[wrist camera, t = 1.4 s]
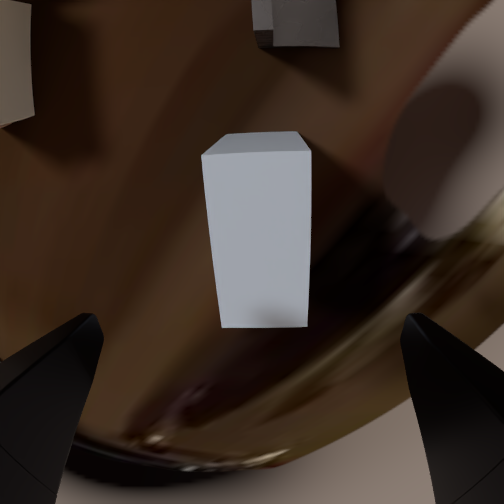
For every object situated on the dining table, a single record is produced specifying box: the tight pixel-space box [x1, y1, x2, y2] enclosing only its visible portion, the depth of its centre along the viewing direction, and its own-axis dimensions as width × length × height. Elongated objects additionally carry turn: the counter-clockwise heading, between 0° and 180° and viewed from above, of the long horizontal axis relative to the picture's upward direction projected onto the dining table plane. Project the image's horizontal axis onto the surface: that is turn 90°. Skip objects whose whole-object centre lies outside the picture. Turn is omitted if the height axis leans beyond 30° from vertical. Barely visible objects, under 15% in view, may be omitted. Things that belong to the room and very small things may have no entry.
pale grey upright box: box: [201, 132, 311, 328], centre depth 16 cm, size 4×8×7 cm, turn 3°
